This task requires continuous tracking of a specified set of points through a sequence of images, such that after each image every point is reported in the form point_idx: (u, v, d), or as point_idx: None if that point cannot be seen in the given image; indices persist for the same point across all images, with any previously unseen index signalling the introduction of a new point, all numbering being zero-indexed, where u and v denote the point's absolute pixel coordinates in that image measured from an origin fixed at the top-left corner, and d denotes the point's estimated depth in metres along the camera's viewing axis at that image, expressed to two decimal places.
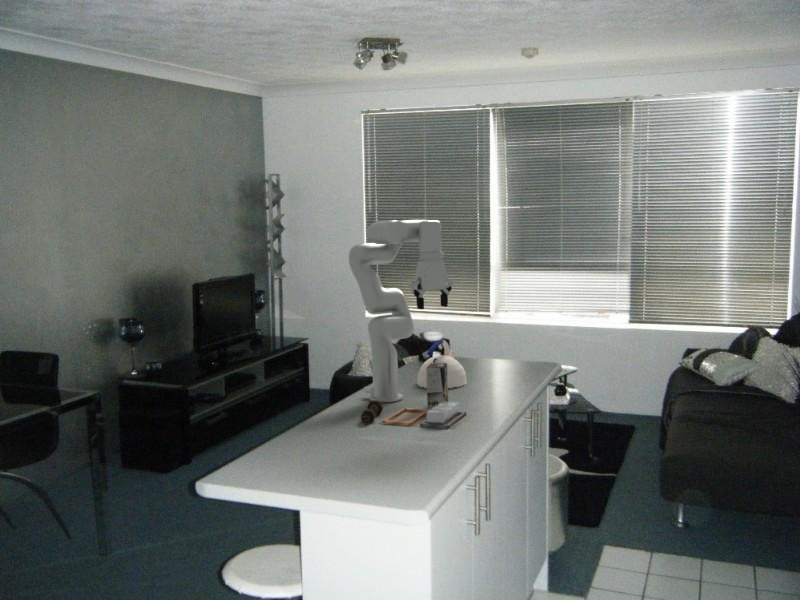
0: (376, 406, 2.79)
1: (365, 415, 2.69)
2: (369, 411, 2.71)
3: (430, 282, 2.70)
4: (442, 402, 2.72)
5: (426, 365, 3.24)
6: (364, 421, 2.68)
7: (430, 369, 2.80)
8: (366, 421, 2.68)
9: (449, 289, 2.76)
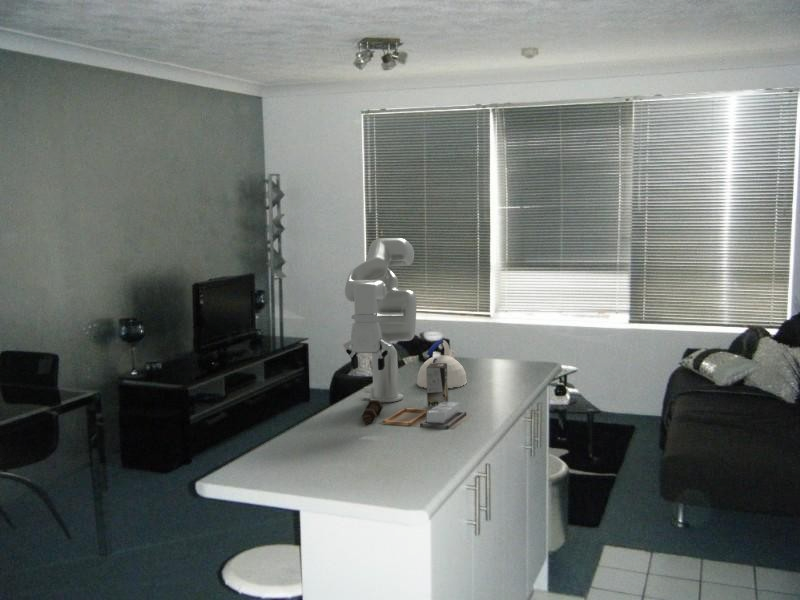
0: (376, 406, 2.80)
1: (366, 415, 2.69)
2: (370, 411, 2.72)
3: None
4: (442, 402, 2.72)
5: (426, 365, 3.24)
6: (365, 421, 2.69)
7: (430, 369, 2.80)
8: (367, 421, 2.69)
9: None
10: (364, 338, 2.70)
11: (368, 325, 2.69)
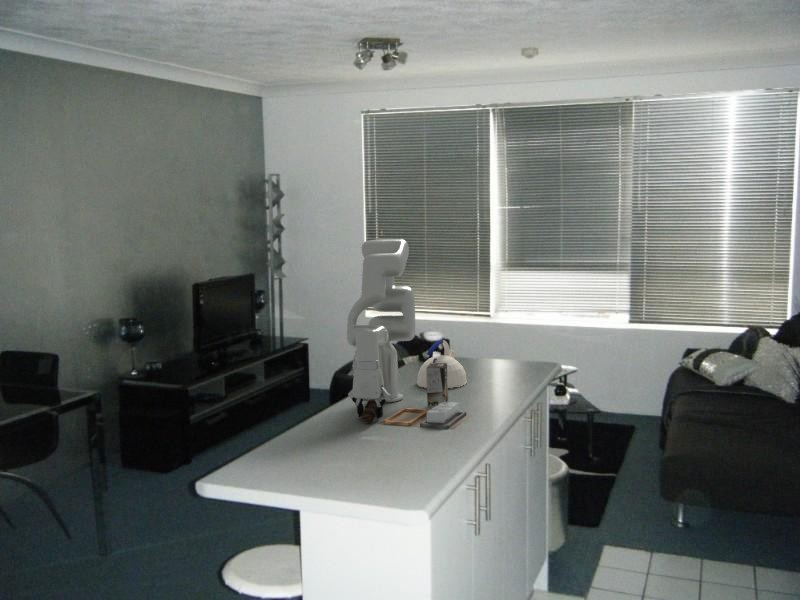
0: (375, 405, 2.80)
1: (366, 414, 2.69)
2: (370, 410, 2.72)
3: None
4: (442, 402, 2.72)
5: (426, 365, 3.24)
6: (366, 420, 2.69)
7: (430, 369, 2.80)
8: (368, 420, 2.69)
9: None
10: (366, 385, 2.72)
11: (370, 372, 2.71)
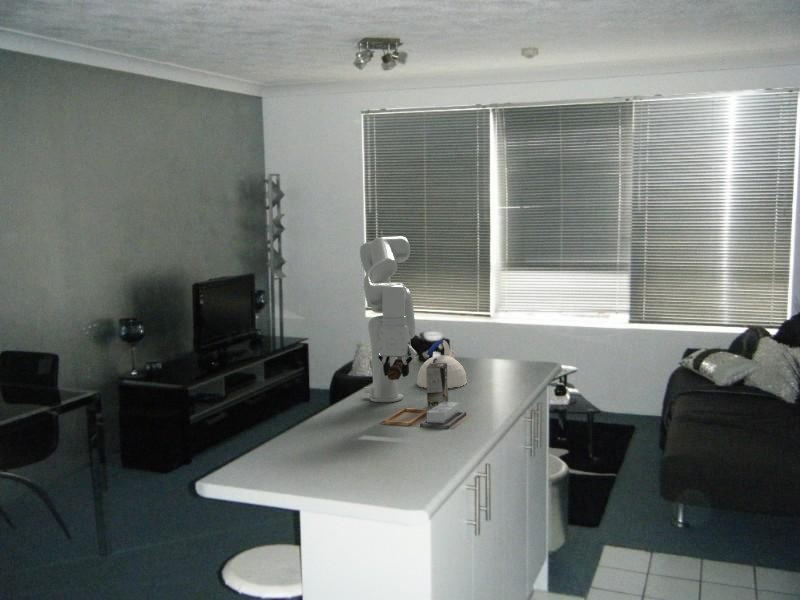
0: (402, 364, 2.75)
1: (392, 371, 2.64)
2: (395, 367, 2.67)
3: None
4: (442, 402, 2.72)
5: (426, 365, 3.24)
6: (391, 377, 2.64)
7: (430, 369, 2.80)
8: (393, 377, 2.64)
9: None
10: (392, 341, 2.66)
11: (396, 328, 2.66)
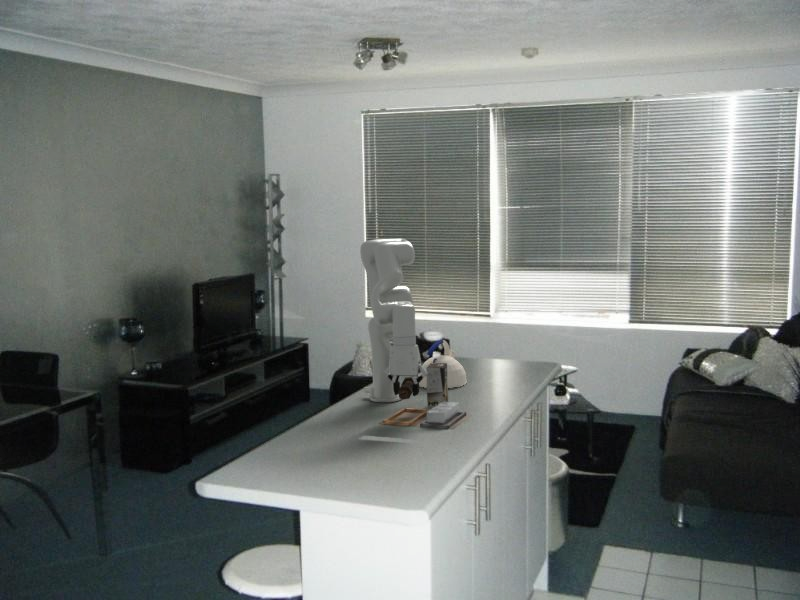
0: (411, 383, 2.74)
1: (403, 390, 2.63)
2: (406, 387, 2.66)
3: None
4: (442, 402, 2.72)
5: (426, 365, 3.24)
6: (402, 397, 2.63)
7: (430, 369, 2.80)
8: (404, 397, 2.63)
9: None
10: (403, 361, 2.66)
11: (407, 348, 2.65)
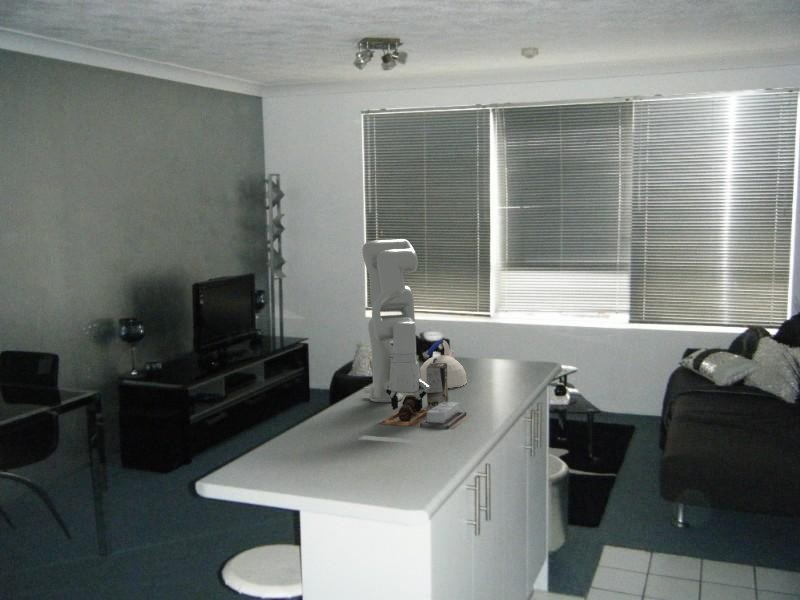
0: (412, 401, 2.75)
1: (403, 412, 2.64)
2: (406, 408, 2.67)
3: None
4: (442, 402, 2.72)
5: (426, 365, 3.24)
6: (402, 418, 2.64)
7: (430, 369, 2.80)
8: (404, 418, 2.64)
9: None
10: (403, 378, 2.67)
11: (407, 365, 2.66)
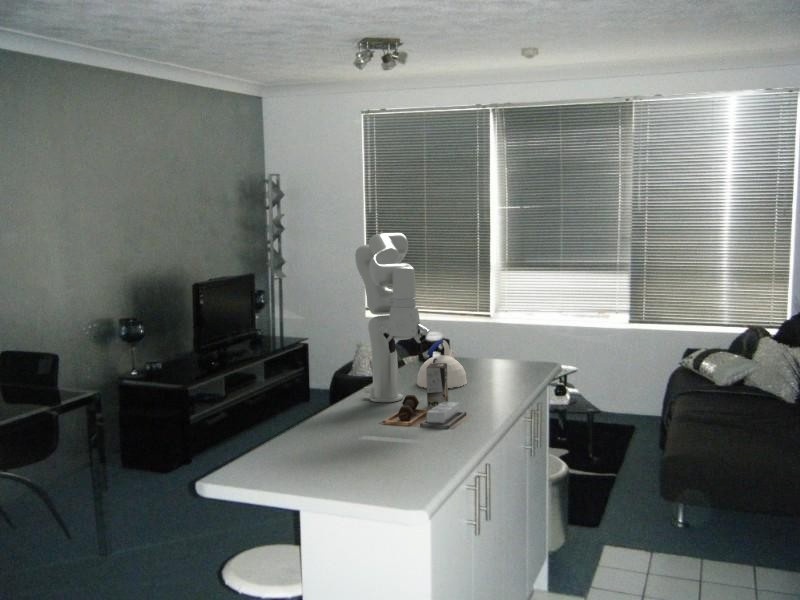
0: (412, 401, 2.75)
1: (403, 412, 2.64)
2: (406, 408, 2.67)
3: None
4: (442, 402, 2.72)
5: (426, 365, 3.24)
6: (402, 418, 2.64)
7: (430, 369, 2.80)
8: (404, 418, 2.64)
9: None
10: (402, 322, 2.69)
11: (406, 310, 2.68)
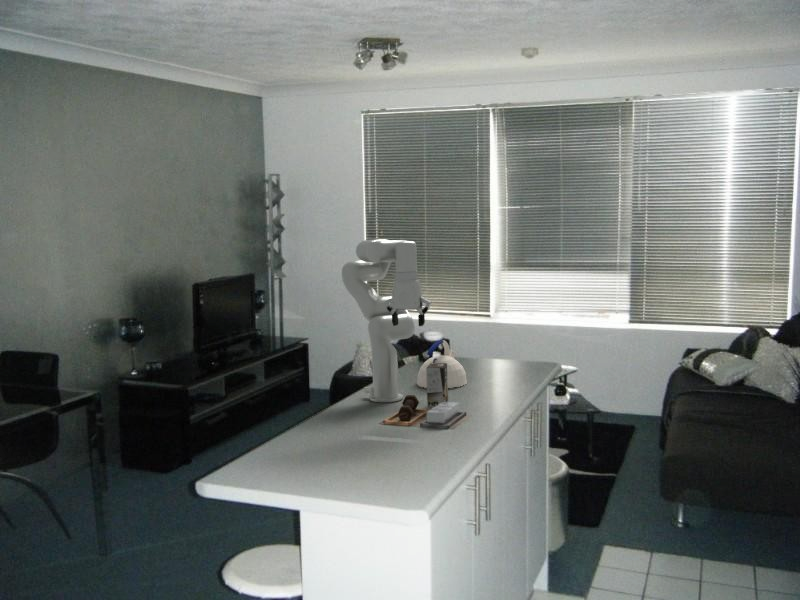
0: (412, 401, 2.75)
1: (403, 412, 2.64)
2: (406, 408, 2.67)
3: None
4: (442, 402, 2.72)
5: (426, 365, 3.24)
6: (402, 418, 2.64)
7: (430, 369, 2.80)
8: (404, 418, 2.64)
9: None
10: (405, 295, 2.79)
11: (409, 282, 2.78)
